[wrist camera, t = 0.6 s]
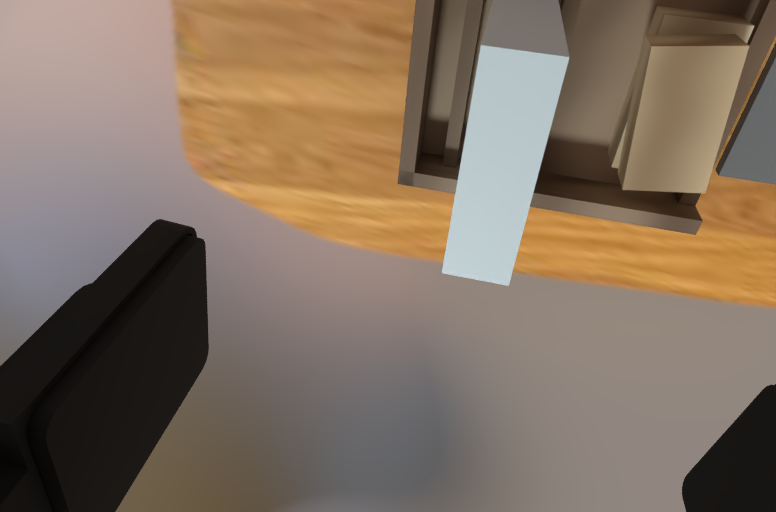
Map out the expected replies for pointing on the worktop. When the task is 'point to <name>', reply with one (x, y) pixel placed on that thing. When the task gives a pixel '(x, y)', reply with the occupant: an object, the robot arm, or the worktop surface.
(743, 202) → the worktop surface
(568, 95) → the rack
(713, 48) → the offcut top
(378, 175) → the worktop surface
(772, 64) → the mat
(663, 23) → the offcut low
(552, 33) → the board
